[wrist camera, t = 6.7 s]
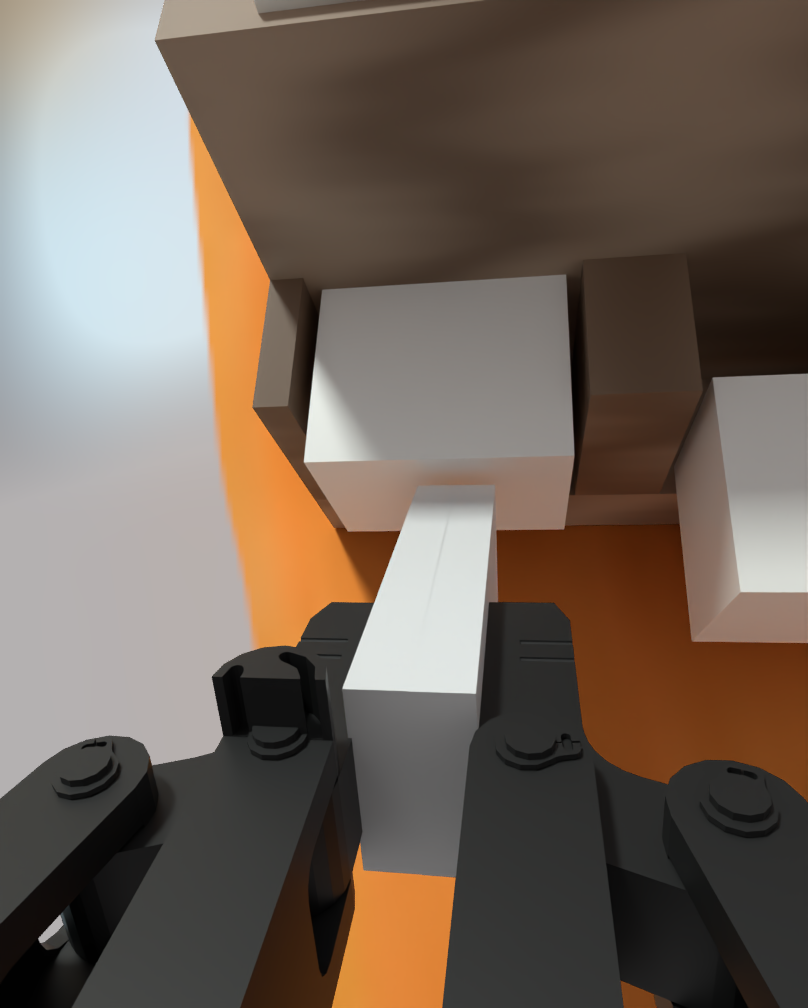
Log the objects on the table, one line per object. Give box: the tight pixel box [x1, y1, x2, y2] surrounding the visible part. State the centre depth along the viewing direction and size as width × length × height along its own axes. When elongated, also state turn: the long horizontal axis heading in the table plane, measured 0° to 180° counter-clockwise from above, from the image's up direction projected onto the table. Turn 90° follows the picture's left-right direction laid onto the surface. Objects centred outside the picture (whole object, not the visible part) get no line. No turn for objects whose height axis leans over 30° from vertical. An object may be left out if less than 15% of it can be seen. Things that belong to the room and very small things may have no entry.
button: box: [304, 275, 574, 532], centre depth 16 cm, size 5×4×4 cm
